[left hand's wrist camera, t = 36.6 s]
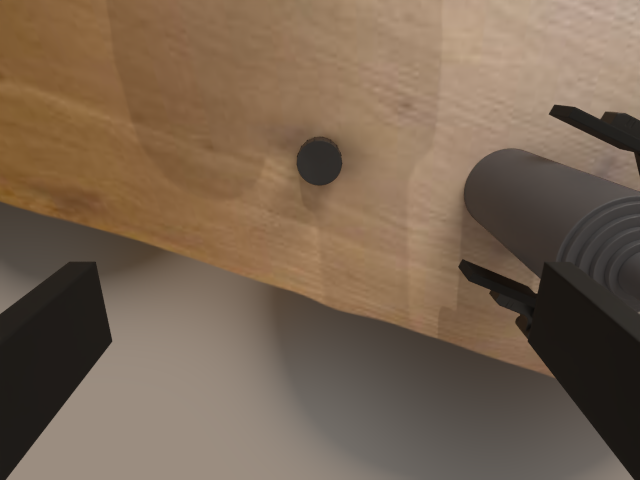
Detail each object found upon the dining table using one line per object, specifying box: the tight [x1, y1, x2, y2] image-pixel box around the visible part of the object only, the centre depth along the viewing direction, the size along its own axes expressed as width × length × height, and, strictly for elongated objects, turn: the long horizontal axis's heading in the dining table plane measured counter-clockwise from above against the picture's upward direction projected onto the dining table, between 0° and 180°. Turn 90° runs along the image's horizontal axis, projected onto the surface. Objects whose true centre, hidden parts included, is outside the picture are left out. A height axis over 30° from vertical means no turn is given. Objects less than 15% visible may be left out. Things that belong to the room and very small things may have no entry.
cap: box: [297, 137, 342, 185], centre depth 37 cm, size 4×4×2 cm
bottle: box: [464, 149, 640, 313], centre depth 30 cm, size 8×8×21 cm
